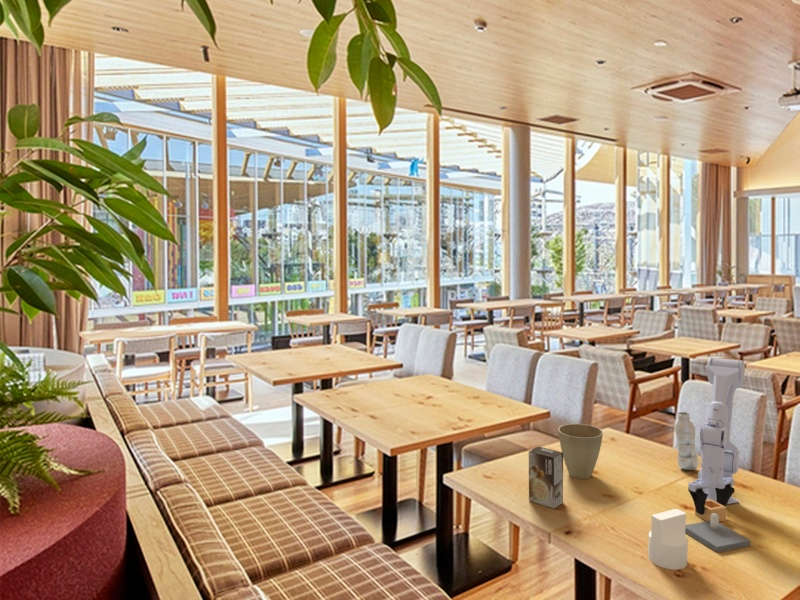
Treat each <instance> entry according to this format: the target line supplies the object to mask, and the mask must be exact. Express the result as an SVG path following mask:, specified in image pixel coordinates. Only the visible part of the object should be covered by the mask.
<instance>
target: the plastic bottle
mask: <svg viewBox="0 0 800 600" xmlns="http://www.w3.org/2000/svg"><path fill="white" fill-rule="evenodd" d="M677 419H678V421H677V422H676V423H675V426H674V430H675V436H676V440H677V441H676V442H677V448H678V451H677V453H678V454H677V465H678V467H679V468H680V469H681V470H685V471H695V470H697V468H699V458H698V455H697V449H696V427H695V424H694V423H693V422H692V421H691V420H690V419H691V416H690V413H689V412H685V411H682V412H681V411H680V412H678V413H677Z"/></svg>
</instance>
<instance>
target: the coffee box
mask: <svg viewBox="0 0 800 600" xmlns="http://www.w3.org/2000/svg"><path fill="white" fill-rule="evenodd" d="M528 501H529V502H532V503H536V504H539V505H542V506H545V507H548V508H552V509H556V508H558V507H560V505H562V504H563V503H564V458H563V452H562V451H558V450H555V449H551V448H550V449H549V448H546V447H542V446H535V447H533V448H532V449H530V450H529V451H528Z"/></svg>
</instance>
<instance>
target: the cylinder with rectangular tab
mask: <svg viewBox="0 0 800 600" xmlns="http://www.w3.org/2000/svg"><path fill="white" fill-rule="evenodd" d="M686 519H687V513H686V512H685V511H682V510H680V509H678V508H672V509H669V510H665V511H662V512H658V513H655V514H652V515H651V527H650V529H651V530H650V531H649V532H648V545H647V546H648V547H647V548H648V549H647V550H648V551H647V552H648V554H647V555H648V556H647V558H648V559H649V561H650V562H651V563H653V564H654V565H656V566H658V567H661V568H664V569H668V570H674V571H675V570H681V569H682V570H683V569H685V568H687V566H688V550H689V549H688V547H689V539H688V538H687V537H686V533H685V526H686V525H687V524H686V523H687V522H686Z"/></svg>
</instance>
